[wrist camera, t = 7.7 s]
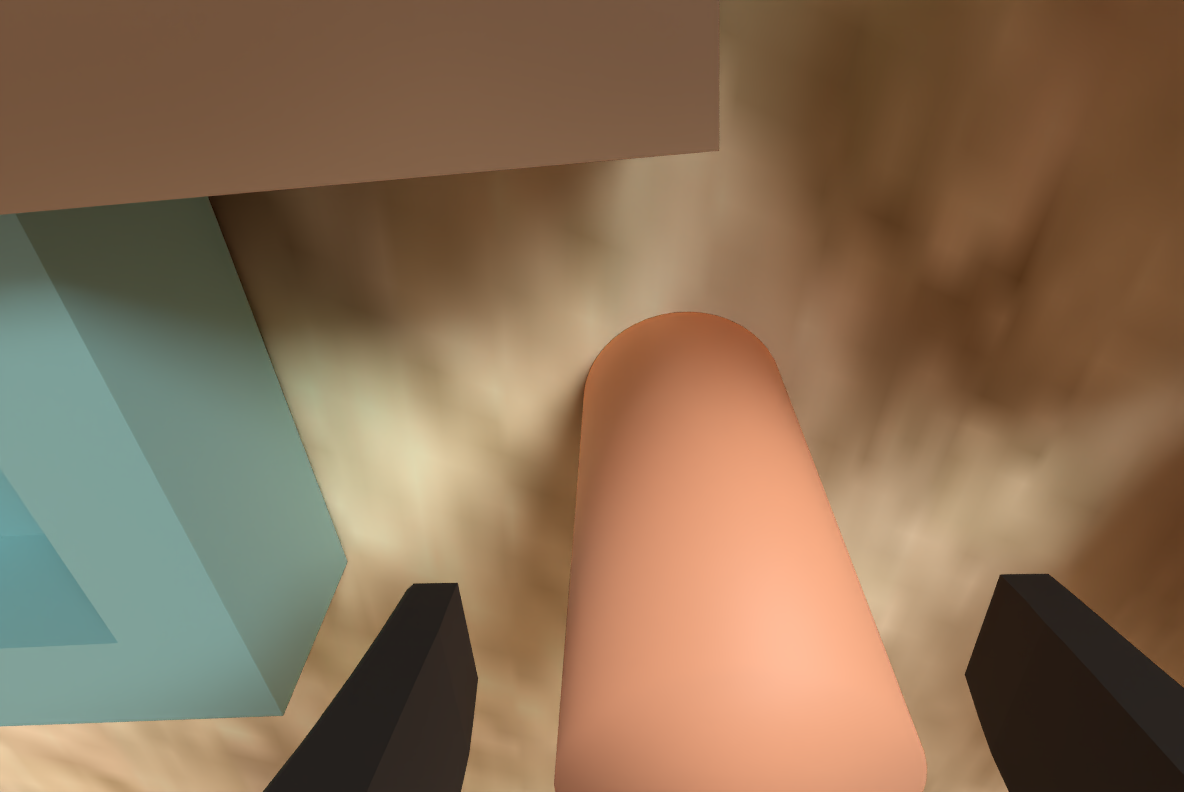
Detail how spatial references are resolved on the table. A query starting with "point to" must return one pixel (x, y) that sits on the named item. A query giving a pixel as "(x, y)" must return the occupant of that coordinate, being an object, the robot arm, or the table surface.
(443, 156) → the backstop wall
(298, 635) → the sliding block
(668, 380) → the dowel
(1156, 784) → the robot arm
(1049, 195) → the table surface
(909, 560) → the table surface
